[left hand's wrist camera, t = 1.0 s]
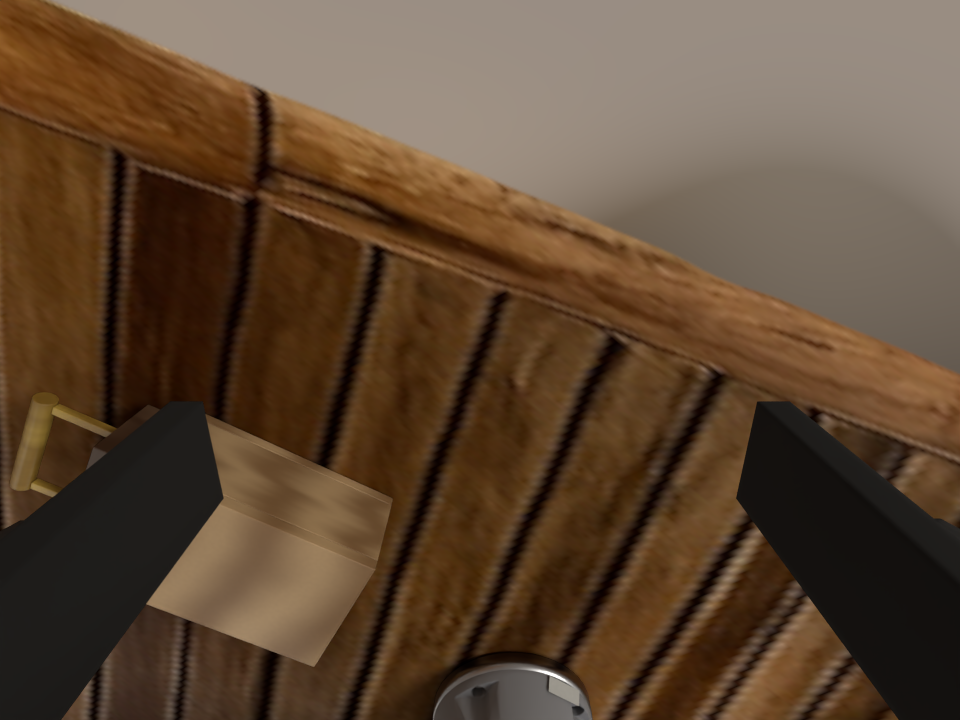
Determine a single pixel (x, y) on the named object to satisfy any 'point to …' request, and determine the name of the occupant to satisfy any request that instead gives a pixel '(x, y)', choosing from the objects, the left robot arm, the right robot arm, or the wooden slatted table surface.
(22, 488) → the drawer
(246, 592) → the cabinet
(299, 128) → the wooden slatted table surface
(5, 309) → the wooden slatted table surface
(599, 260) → the wooden slatted table surface
